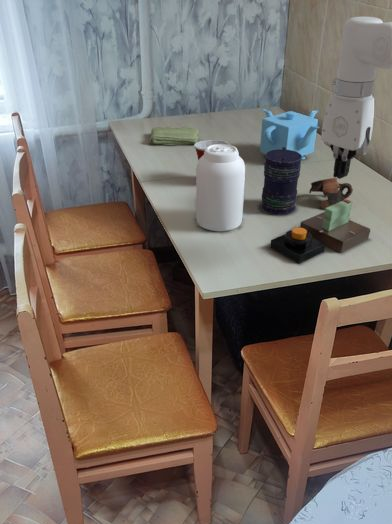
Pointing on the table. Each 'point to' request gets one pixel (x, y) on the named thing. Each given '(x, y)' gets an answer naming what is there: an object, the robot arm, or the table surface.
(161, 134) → the washcloth
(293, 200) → the storage jar
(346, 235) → the base
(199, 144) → the plastic cup
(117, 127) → the table surface
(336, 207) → the pale green flat block
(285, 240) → the button block
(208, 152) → the can
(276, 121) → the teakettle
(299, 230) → the button
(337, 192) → the pottery mug
